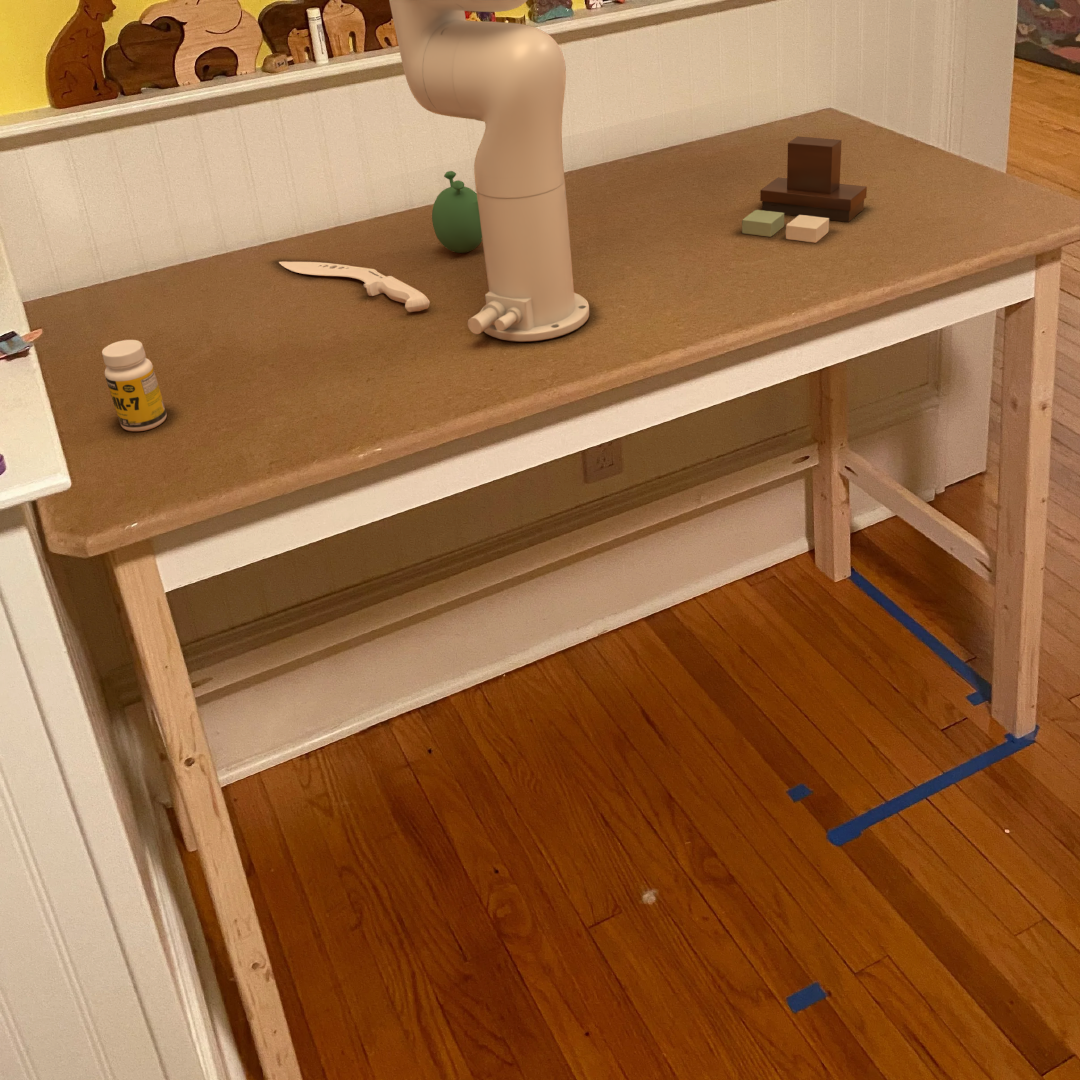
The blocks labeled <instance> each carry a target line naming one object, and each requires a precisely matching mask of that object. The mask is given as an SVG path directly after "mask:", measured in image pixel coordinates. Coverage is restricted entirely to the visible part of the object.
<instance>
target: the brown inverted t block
mask: <svg viewBox="0 0 1080 1080" xmlns="http://www.w3.org/2000/svg"><path fill="white" fill-rule="evenodd" d="M786 160H787V161H786V163H787V166H786V173H787V174H786V177H776V178H775V179H774V180H772V181H770V182H769V183H768V184H767V185H766V186H764V187H763V188H761V189H760V192H759V193H760V195H759V196H760V197H759V198H760V199H759V201H760V202H762V204H761V205H762V206H761V210H764V211H772V212H781V213H784V216H793V217H797V216H798V215H806V216H815V217H823V218H829V221H836V222H844V223H849V222H851V221H852V220H853V219H855V217H856V216H858V215H859V214H860V213H861V212H862V211H863V210H864V209H865V199H867V191H868V190H867V189H868V186H865V185H857V184H856V185H855V184H847V183H846V184H845V183H841V165H842V164H841V163H842V139H837V138H836V139H835V138H825V137H824V138H823V137H810V136H799V135H797V136H796V137H794V138H792V140H790V141H788V142H787V159H786Z"/></svg>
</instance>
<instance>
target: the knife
mask: <svg viewBox="0 0 1080 1080" xmlns="http://www.w3.org/2000/svg"><path fill="white" fill-rule="evenodd" d="M278 264H279V265H280V266H282V267H283V268H285V269H287V270H289V271H291V272H294V273H299V274H303V275H310V276H321V277H343V278H350V279H351V278H352V279H356V280H359V281H361V282H364V283H363V288H365V289H366V293H367V295H368V296H369V297H375V296H377V295H381V294H385V296H387V297H388V298H389V299H390V300H392V301H395V302H399V303H402V304H404V308H405V310H406V311H407V312H408V313H413V312H421V311H423V310H428V309H429V307H430V303H431V302H430V300H429V298H428V297H427V296H426V295H425V294H424V293H423V292H421V290H418V289H417V288H415V287H413V286H411V285H409V284H407V283H405V282H403V281H402V280H400V279H397V278H396V277H394V276H392V275H387V276H386V275H384V274H382V273H380V272H378V270H377V269H374V268H368V267H361V266H354V265H348V264H340V263H332V262H322V261H321V262H319V261H278Z"/></svg>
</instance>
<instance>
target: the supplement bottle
mask: <svg viewBox="0 0 1080 1080" xmlns="http://www.w3.org/2000/svg"><path fill="white" fill-rule="evenodd" d="M101 355H102V359H103V363H104V365H105V369H104V377H105V381H106V383H107V387H108V390H109V393H110V396H111V399H112V403H113V405H114V409H115V412H116V415H117V418H118V421H119V424H120V427H122V429H123V430H125V431H128V432H143V431H148V430H153V429H154V428H157V427H158V426H160V425H161V424H162V423H164V422H165V421H166V419H167V418H168V417H167V410H166V407H165V402H164V400H163V396H162V392H161V389H160V386H159V382H158V379H157V376H156V372H155V369H154V365H153V362H152V361H151V360H150V359H149V358H147V356H146V352H145V347H144V346H143V342H141V341H140V340H138V339H137V340H136V339H124V340H118V341H115V342H113V343H110V344H108V345H106V346H105V347H104V348H103V349H102V350H101Z"/></svg>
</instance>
